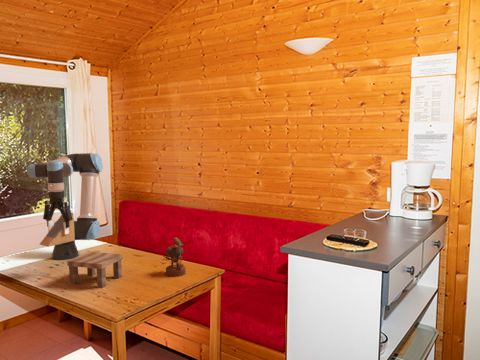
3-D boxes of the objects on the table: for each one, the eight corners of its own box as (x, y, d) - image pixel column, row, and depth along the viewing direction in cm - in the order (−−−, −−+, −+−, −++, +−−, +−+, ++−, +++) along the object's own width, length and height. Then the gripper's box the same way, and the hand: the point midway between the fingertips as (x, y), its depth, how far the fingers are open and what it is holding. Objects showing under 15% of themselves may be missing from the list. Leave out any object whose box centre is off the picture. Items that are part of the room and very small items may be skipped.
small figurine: (192, 273, 225) (189, 237, 221) (178, 280, 216) (174, 243, 213) (172, 268, 234) (169, 233, 230) (157, 274, 225) (154, 239, 222)
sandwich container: (38, 244, 214) (36, 215, 213) (65, 238, 227) (64, 211, 225) (47, 246, 209) (46, 217, 208) (75, 240, 222) (73, 212, 220)
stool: (68, 284, 208) (67, 261, 207) (90, 273, 226) (89, 251, 224) (102, 288, 203) (101, 264, 202) (123, 276, 220) (122, 254, 219)
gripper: (33, 191, 216) (36, 233, 218) (69, 192, 209) (71, 236, 212) (44, 189, 223) (46, 230, 225) (78, 190, 216) (81, 233, 219)
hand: (58, 233), depth 218 cm, fingers closed on sandwich container, 9 cm apart
